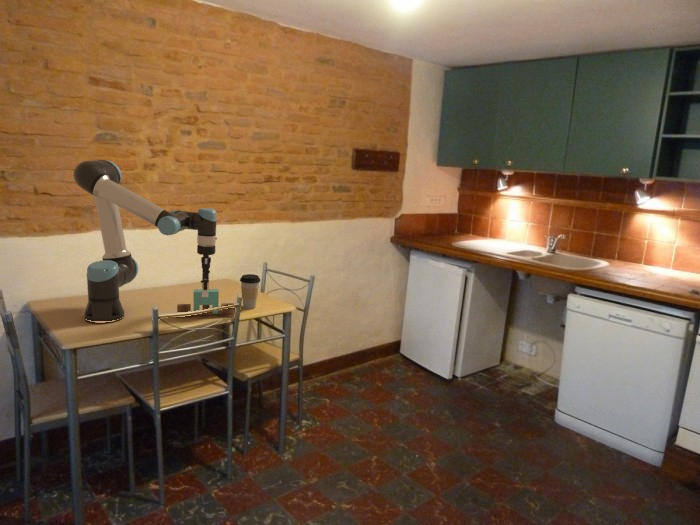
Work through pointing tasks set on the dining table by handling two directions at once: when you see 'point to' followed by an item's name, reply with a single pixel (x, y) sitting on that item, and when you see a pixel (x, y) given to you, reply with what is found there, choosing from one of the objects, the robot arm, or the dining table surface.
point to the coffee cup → (249, 290)
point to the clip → (206, 299)
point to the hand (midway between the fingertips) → (205, 292)
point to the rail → (222, 313)
